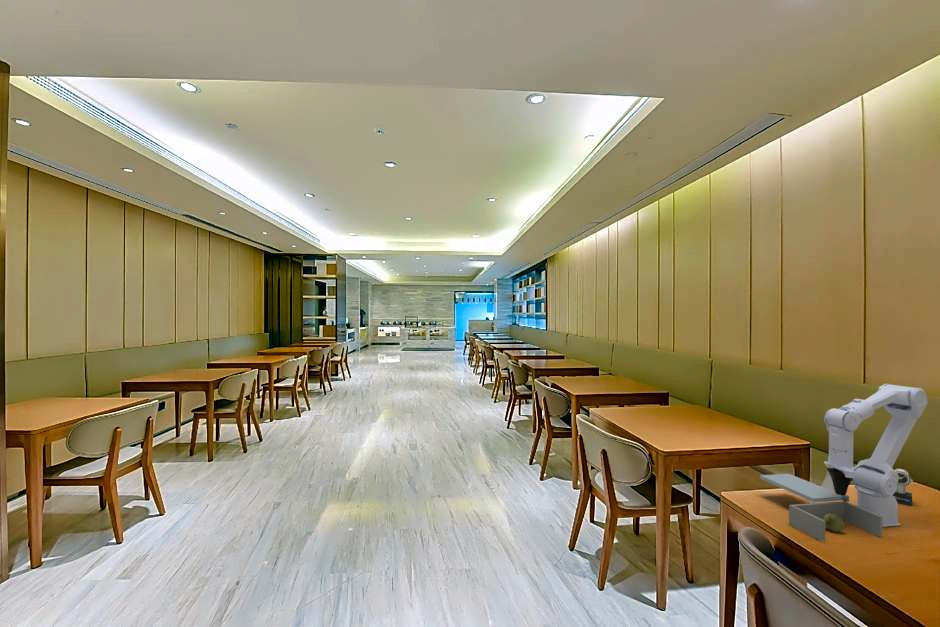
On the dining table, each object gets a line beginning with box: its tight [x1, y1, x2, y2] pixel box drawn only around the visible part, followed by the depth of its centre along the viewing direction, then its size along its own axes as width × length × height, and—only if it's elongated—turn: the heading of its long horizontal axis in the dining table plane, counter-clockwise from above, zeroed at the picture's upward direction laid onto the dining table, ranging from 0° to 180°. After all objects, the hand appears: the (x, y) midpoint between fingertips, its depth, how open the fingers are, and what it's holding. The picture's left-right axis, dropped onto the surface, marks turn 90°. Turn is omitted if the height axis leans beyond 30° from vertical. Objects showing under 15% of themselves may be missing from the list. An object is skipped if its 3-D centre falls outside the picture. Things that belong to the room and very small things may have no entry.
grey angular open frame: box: [788, 500, 883, 542], centre depth 132 cm, size 20×11×6 cm, turn 100°
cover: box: [759, 473, 850, 503], centre depth 148 cm, size 21×13×1 cm, turn 10°
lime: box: [823, 514, 846, 533], centre depth 132 cm, size 4×5×5 cm
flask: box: [820, 465, 835, 492], centre depth 160 cm, size 7×7×10 cm
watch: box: [893, 468, 914, 507], centre depth 154 cm, size 6×8×11 cm
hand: (840, 494), depth 136 cm, fingers closed
